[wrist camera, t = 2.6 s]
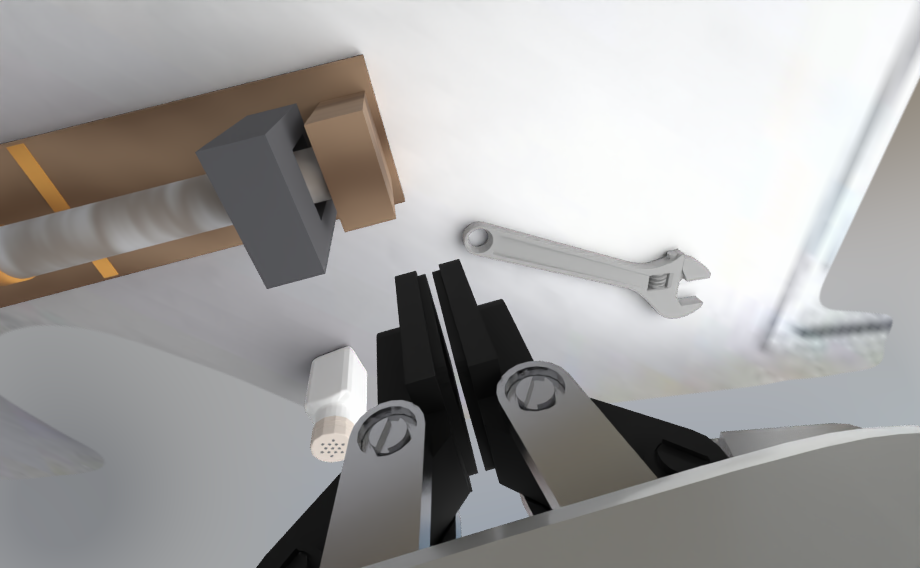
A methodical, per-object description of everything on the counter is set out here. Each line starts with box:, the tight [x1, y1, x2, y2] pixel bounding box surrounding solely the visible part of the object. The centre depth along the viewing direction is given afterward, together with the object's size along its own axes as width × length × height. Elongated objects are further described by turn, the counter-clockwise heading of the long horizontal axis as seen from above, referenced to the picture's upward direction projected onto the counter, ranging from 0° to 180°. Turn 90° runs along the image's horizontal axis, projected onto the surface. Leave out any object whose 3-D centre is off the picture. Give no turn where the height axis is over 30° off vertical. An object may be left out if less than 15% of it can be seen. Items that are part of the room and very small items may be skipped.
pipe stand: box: [0, 54, 405, 308], centre depth 27 cm, size 10×32×9 cm, turn 102°
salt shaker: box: [304, 347, 367, 462], centre depth 37 cm, size 4×4×10 cm
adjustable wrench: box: [462, 222, 711, 319], centre depth 39 cm, size 25×6×2 cm, turn 67°
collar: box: [195, 103, 337, 289], centre depth 24 cm, size 7×3×9 cm, turn 12°
